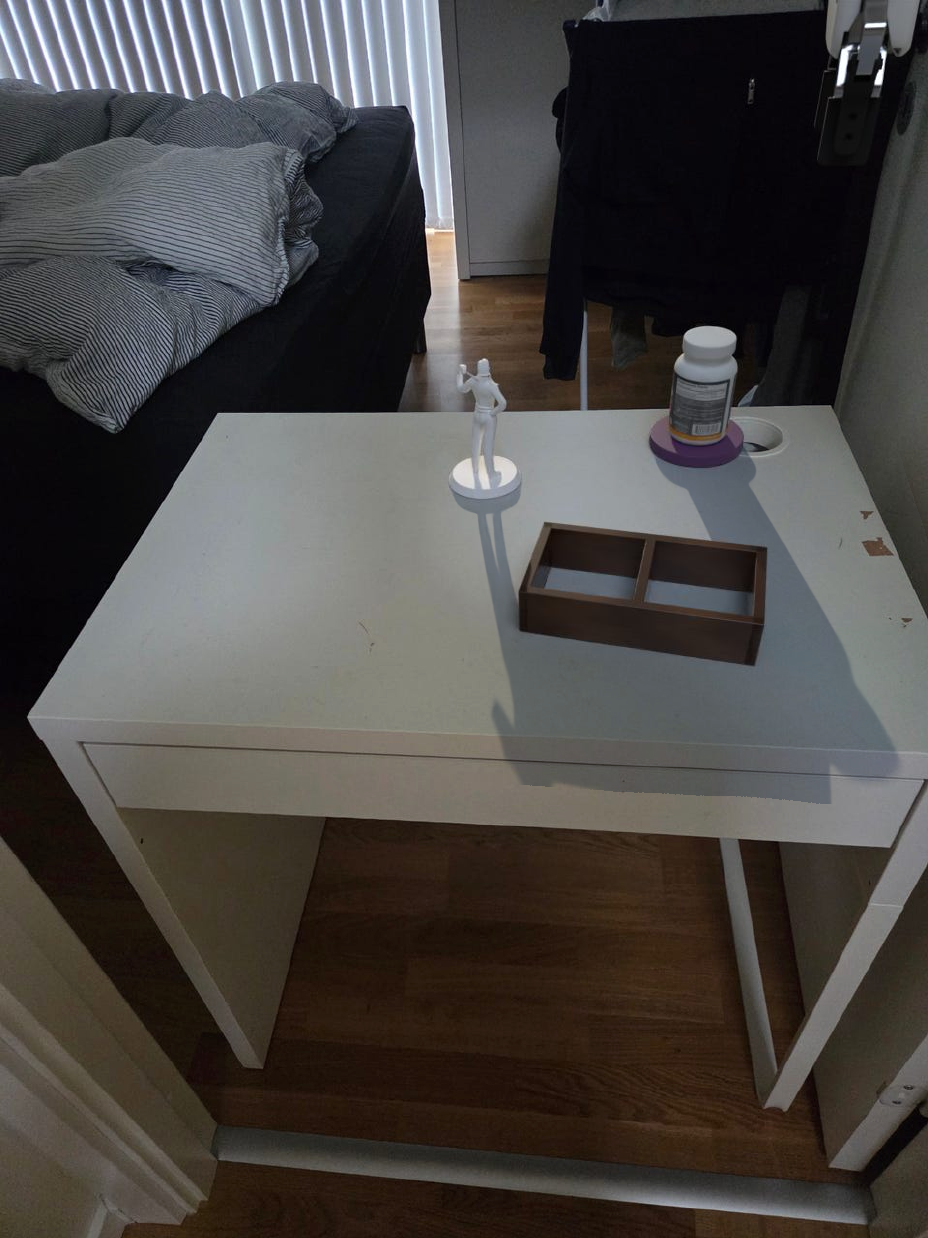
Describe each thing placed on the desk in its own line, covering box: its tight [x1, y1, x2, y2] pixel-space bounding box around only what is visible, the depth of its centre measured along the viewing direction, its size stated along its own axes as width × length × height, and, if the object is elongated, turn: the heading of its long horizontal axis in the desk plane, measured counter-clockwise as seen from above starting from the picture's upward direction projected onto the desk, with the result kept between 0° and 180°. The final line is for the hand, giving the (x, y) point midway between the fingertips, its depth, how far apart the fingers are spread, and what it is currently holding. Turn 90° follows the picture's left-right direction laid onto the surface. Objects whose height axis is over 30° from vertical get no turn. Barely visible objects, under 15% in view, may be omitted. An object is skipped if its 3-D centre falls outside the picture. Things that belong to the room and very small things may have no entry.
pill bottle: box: [668, 325, 738, 446], centre depth 79 cm, size 6×6×10 cm
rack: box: [517, 521, 769, 667], centre depth 64 cm, size 17×9×4 cm, turn 74°
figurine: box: [448, 358, 523, 500], centre depth 77 cm, size 7×7×12 cm
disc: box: [648, 414, 745, 468], centre depth 83 cm, size 9×9×1 cm
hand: (838, 146), depth 61 cm, fingers open, 9 cm apart
